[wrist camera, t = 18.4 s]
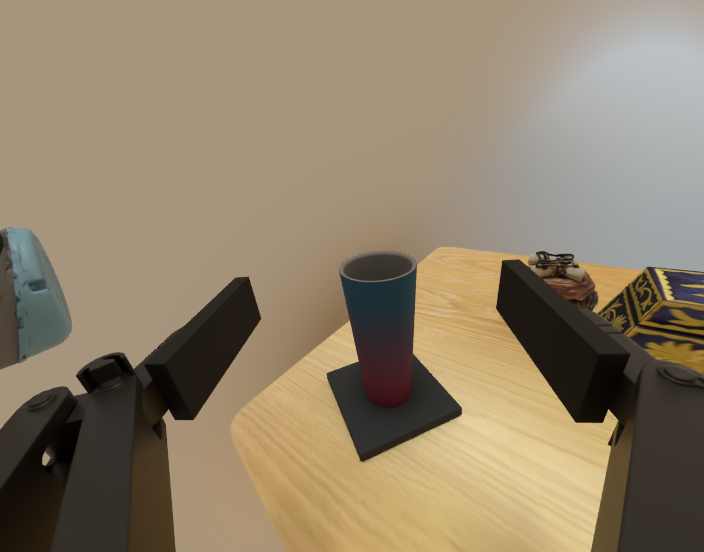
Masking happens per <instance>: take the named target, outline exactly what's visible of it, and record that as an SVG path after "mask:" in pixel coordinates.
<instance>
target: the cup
mask: <svg viewBox="0 0 704 552" xmlns="http://www.w3.org/2000/svg"><path fill="white" fill-rule="evenodd" d="M339 271H340V277H341V281H342V286H343V291H344V295H345V299H346V304H347V309H348V313H349V318H350V323H351V327H352V332H353V337H354V341H355V346H356V350H357V355H358V360H359V364H360V369H361V373H362V378H363V382H364V387H365V392H366V395H367V397H368V399H369V400H370V401H371V402H372V403H374V404H375V405H377V406H380V407H385V408H392V407H397V406H399V405H401V404H403V403H404V402H405V401H407V399H408V398H409V396H410V393H411V379H412V357H413V336H414V315H415V294H416V272H417V262H416V260H415V259H414V258H413V257H412V256H410V255H408V254H405V253H401V252H395V251H375V252H367V253H363V254H359V255H356V256H353V257H351V258H349V259H347V260H346V261H344V262H343V263H342V264H341V265H340V268H339Z"/></svg>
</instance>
